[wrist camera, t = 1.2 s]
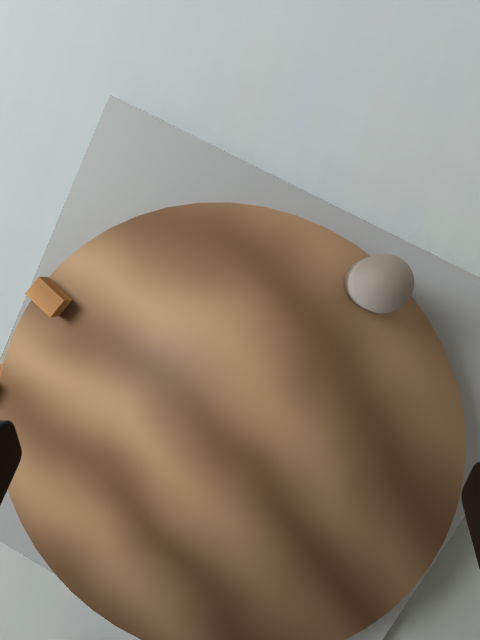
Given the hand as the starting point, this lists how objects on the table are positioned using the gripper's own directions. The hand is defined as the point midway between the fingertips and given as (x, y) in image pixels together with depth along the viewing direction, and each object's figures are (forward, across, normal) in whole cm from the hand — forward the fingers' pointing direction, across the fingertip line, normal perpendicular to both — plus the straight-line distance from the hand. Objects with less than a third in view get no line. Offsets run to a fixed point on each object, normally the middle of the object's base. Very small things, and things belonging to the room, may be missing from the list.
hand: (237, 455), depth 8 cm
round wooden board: (+11, +1, +11) cm, 16 cm away
